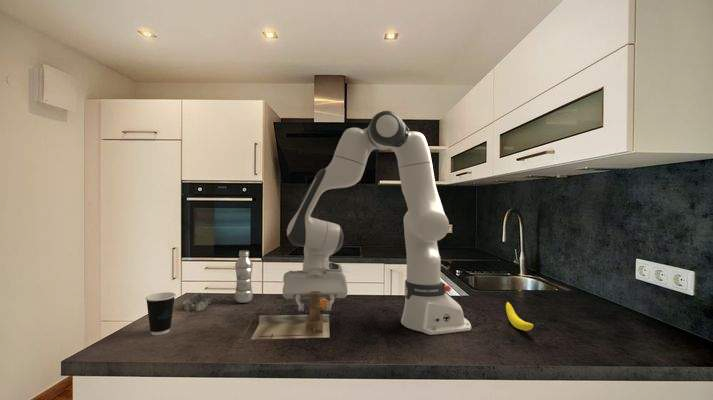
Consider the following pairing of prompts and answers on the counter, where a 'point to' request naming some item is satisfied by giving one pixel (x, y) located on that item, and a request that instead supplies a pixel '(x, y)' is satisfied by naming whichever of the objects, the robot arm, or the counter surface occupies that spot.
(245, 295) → the plastic bottle
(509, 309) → the banana
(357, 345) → the counter surface
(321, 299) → the pastry
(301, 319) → the birch board
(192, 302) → the egg carton
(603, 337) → the counter surface
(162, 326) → the dixie cup
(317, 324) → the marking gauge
